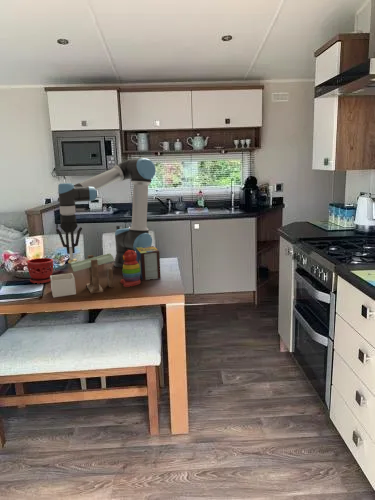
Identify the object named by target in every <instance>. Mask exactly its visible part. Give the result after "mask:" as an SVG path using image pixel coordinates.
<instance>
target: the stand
mask: <svg viewBox="0 0 375 500" xmlns="http://www.w3.org/2000/svg"><path fill="white" fill-rule="evenodd" d="M93 257H95V255H94V254H89V255H87V259H90V258H93ZM106 274H107V275H106V276H107V286H108V287H109V288H110V287H111V288H115V287H114V271H113V268H112V267H111V266H110V267H109V266H108V267H106ZM88 281H89V283H86V284H85V285H86V287H87V289H88V291H89V292H90V294H98V293H103V292H104V289H103V288H102V286H101V285H100V277H99V265H98V263H97V259H95V260H91V267H90V268H88Z"/></svg>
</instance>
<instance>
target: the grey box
mask: <svg viewBox="0 0 375 500" xmlns="http://www.w3.org/2000/svg"><path fill="white" fill-rule="evenodd" d="M75 279H76V278H75V276H74V274H73V273H72V272H70V273H69V272H68V273H60V274H54V275H53V274H52V275H51V276H50V280H51V281H50V287H51V294H52V297H53V298H59V297H66V296H73V295H77V291H76V280H75Z"/></svg>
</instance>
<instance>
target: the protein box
mask: <svg viewBox="0 0 375 500" xmlns="http://www.w3.org/2000/svg"><path fill="white" fill-rule="evenodd" d="M135 252H136V254H137V258H136V261H137V262H138V263H139V266H140V271H141V273H140V280H141V279H142V280H145V281H151V280H150V279H153V280H159V279H158V278H162V277H161V276H162V275H161V258H160V257H161V255H160V253H161V252H160V250H159V249H158V248H156V247H155V246H154V245H151V246H148V247H136V251H135ZM142 280H141V281H142Z"/></svg>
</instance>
